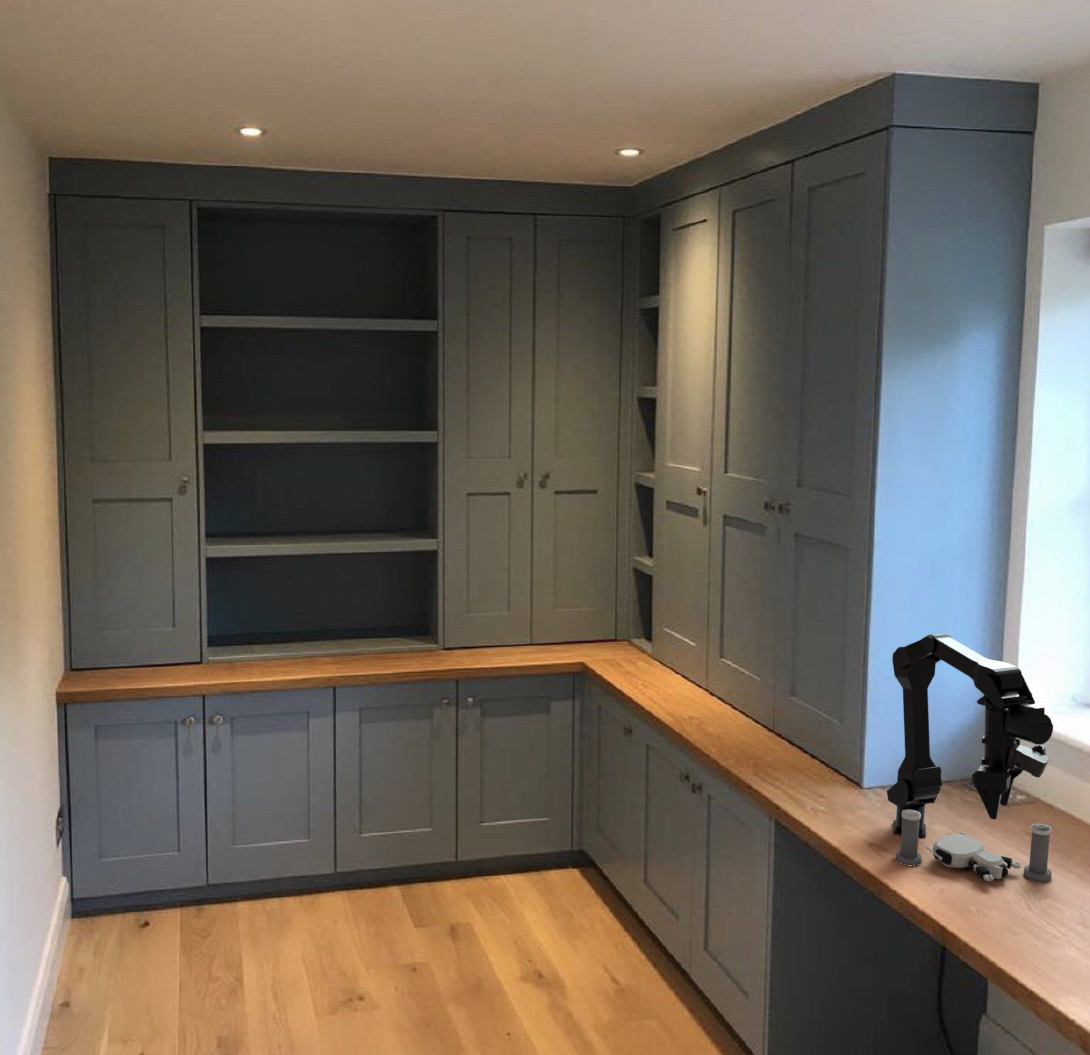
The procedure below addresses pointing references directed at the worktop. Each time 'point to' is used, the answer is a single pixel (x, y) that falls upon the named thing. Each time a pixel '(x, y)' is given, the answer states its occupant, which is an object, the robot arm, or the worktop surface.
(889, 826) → the worktop surface
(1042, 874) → the tube
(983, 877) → the robot toy
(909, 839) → the tube
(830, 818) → the worktop surface
